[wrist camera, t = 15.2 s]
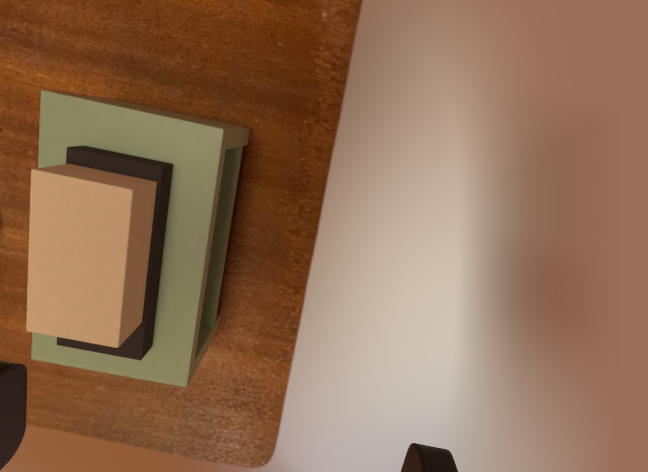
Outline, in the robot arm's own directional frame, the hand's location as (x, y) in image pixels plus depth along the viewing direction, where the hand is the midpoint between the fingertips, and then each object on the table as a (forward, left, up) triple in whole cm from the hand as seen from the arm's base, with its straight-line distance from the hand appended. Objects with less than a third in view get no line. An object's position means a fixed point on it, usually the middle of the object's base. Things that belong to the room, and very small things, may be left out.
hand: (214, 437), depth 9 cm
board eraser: (+11, -5, -21) cm, 25 cm away
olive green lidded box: (+11, -5, -31) cm, 34 cm away
